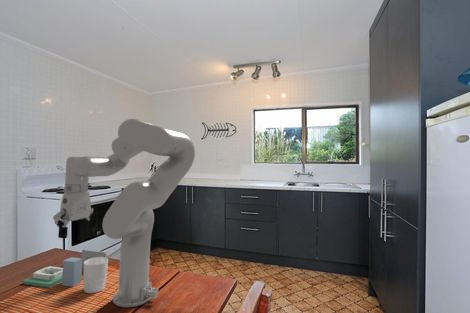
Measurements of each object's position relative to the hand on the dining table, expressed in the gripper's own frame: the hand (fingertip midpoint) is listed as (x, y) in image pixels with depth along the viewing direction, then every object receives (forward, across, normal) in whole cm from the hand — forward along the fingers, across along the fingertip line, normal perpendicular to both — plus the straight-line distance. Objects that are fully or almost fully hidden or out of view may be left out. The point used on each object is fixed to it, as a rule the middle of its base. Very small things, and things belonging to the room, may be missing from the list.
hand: (73, 234), depth 95 cm
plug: (+18, 0, 0) cm, 18 cm away
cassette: (+19, +14, +2) cm, 23 cm away
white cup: (+18, -1, -11) cm, 22 cm away
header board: (+18, +2, +11) cm, 21 cm away
